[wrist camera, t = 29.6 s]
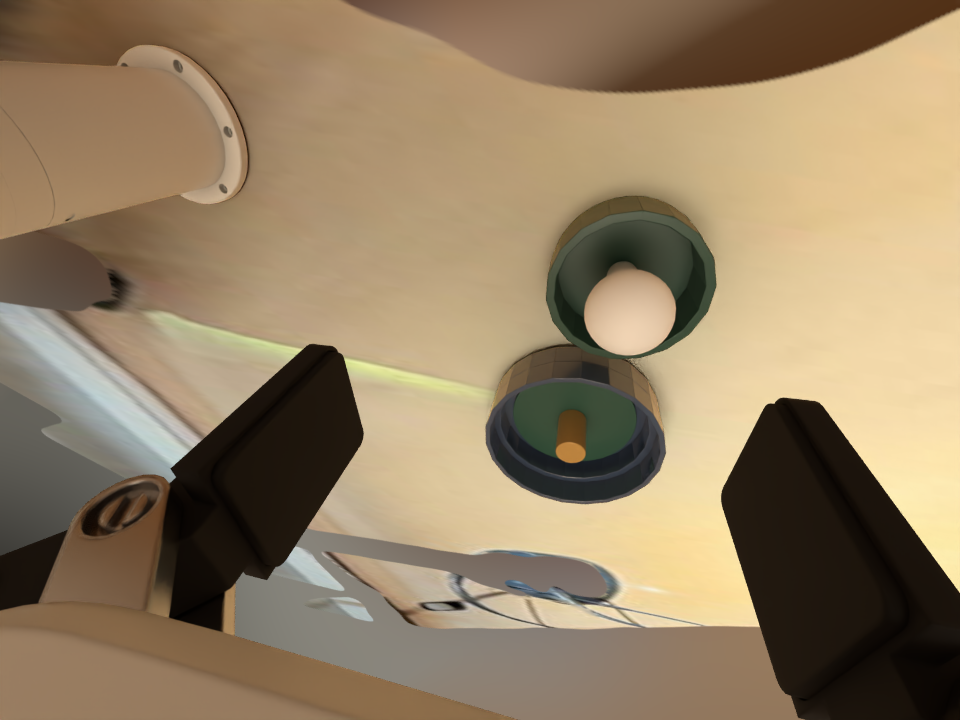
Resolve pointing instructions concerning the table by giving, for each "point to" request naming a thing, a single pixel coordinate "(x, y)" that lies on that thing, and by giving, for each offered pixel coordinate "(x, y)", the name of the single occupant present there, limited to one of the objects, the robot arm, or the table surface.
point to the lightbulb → (629, 310)
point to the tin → (641, 241)
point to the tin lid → (574, 420)
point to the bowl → (585, 477)
